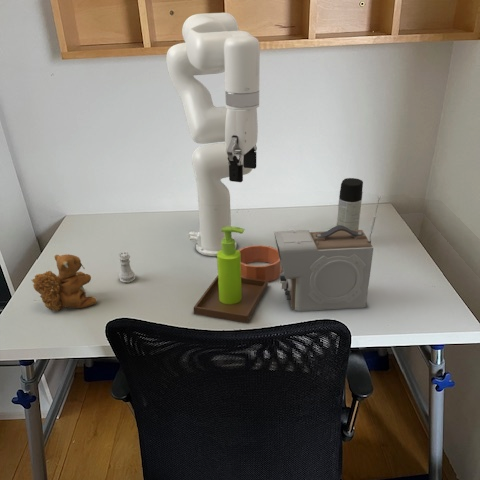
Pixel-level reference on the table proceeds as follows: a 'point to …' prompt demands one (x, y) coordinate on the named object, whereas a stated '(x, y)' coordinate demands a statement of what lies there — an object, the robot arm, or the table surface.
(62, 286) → the stuffed squirrel
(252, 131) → the robot arm
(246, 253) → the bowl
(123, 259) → the rook chess piece
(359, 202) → the spray can
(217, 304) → the tray
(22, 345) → the table surface
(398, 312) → the table surface
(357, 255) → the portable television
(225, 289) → the soap dispenser
